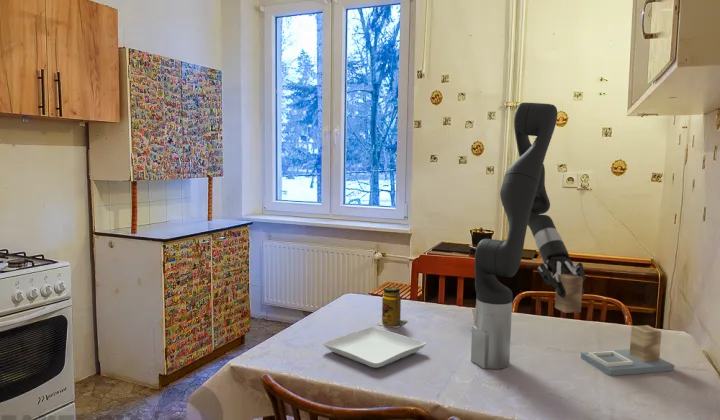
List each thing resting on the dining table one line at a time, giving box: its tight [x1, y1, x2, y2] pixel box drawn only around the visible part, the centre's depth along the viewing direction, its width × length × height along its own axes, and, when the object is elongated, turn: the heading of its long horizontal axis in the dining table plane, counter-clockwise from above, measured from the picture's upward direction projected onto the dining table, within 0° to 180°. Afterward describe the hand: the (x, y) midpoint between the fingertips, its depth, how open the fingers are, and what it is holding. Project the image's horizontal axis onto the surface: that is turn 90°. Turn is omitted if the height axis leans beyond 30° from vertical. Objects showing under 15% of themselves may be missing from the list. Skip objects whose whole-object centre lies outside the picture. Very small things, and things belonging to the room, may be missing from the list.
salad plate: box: [322, 326, 427, 368], centre depth 143 cm, size 21×21×3 cm
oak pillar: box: [629, 324, 662, 362], centre depth 139 cm, size 5×5×8 cm
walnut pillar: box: [554, 273, 584, 314], centre depth 146 cm, size 5×5×10 cm
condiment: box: [377, 286, 408, 329], centre depth 169 cm, size 7×8×12 cm
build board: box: [580, 348, 676, 377], centre depth 138 cm, size 19×12×2 cm, turn 101°
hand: (572, 295), depth 144 cm, fingers closed on walnut pillar, 5 cm apart
